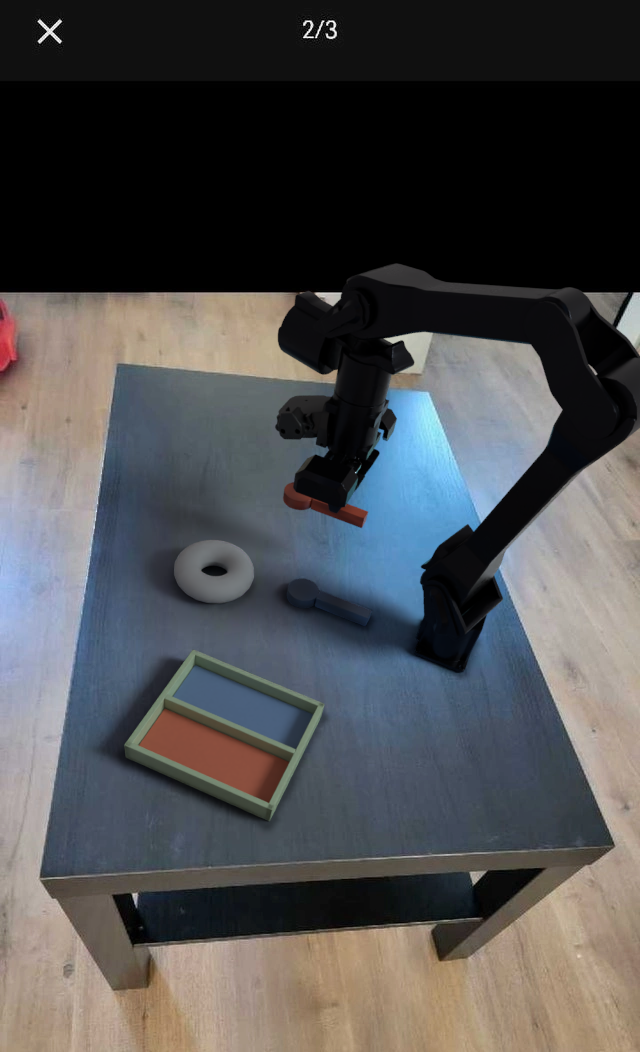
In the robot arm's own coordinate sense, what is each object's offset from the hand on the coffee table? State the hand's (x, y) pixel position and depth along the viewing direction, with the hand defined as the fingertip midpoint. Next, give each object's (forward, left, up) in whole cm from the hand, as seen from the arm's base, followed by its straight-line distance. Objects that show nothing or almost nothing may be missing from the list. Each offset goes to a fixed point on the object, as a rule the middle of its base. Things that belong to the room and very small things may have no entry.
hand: (336, 507), depth 86 cm
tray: (-1, +31, -9) cm, 32 cm away
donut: (+11, +11, -9) cm, 18 cm away
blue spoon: (-4, +8, -9) cm, 13 cm away
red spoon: (+1, 0, -1) cm, 1 cm away
